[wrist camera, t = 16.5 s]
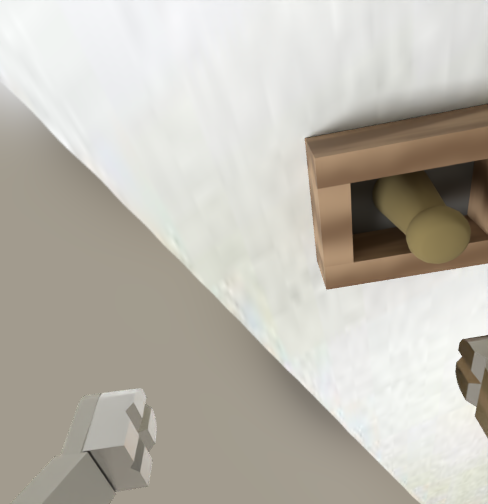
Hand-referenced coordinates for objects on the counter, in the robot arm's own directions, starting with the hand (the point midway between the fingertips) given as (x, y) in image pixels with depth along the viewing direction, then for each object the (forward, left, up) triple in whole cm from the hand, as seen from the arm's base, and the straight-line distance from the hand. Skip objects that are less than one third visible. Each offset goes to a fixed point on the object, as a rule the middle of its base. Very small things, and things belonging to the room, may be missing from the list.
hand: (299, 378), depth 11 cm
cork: (+13, +14, -33) cm, 38 cm away
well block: (+13, +15, -33) cm, 39 cm away
